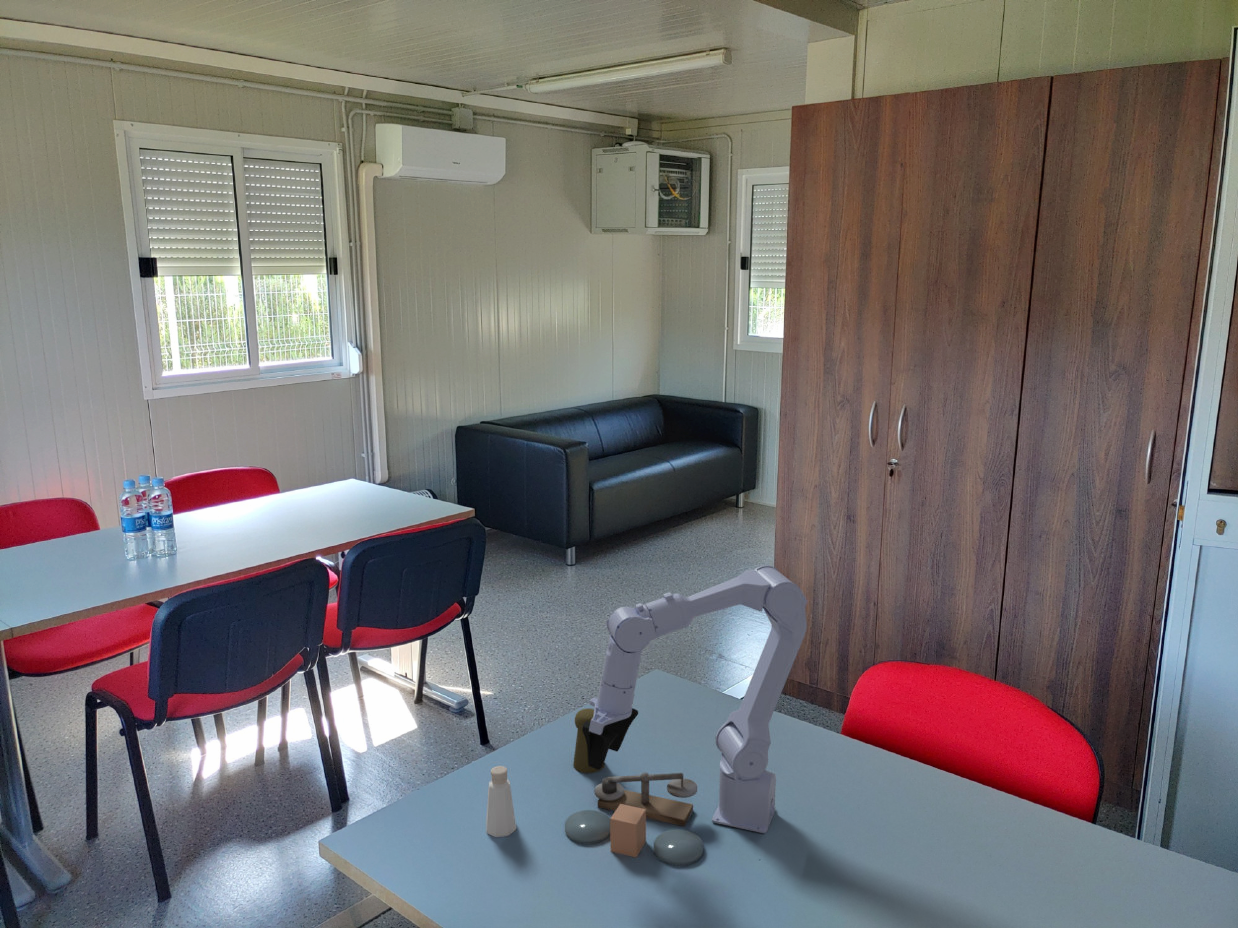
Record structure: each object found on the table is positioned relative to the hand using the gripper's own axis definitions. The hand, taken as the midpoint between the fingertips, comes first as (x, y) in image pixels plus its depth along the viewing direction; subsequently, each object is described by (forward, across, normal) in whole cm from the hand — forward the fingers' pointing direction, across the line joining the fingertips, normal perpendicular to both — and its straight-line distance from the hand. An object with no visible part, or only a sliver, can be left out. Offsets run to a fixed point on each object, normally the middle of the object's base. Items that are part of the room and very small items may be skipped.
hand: (603, 757), depth 152 cm
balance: (+12, -11, +6) cm, 18 cm away
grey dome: (+14, -2, -1) cm, 15 cm away
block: (+14, 0, +7) cm, 15 cm away
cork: (+14, -21, -9) cm, 27 cm away
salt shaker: (+17, +3, -15) cm, 23 cm away
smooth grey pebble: (+12, -2, +15) cm, 19 cm away
